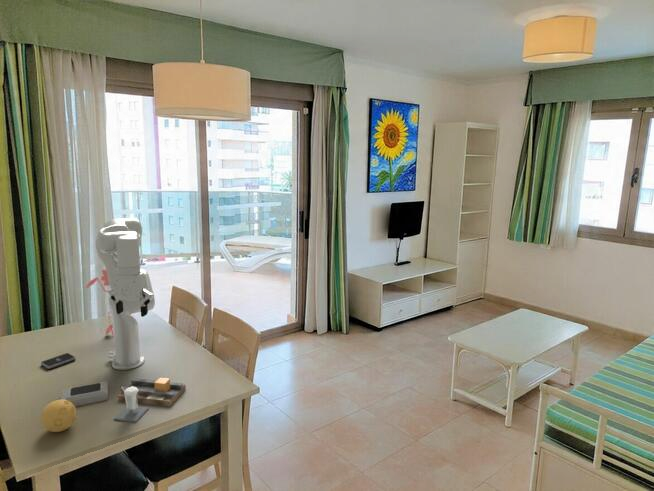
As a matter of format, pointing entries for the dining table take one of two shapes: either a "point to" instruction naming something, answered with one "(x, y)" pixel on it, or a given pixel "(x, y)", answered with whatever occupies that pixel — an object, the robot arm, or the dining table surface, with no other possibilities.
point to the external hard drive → (58, 361)
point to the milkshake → (131, 399)
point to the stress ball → (58, 415)
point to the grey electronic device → (86, 393)
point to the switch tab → (162, 384)
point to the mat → (131, 418)
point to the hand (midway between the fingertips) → (132, 314)
